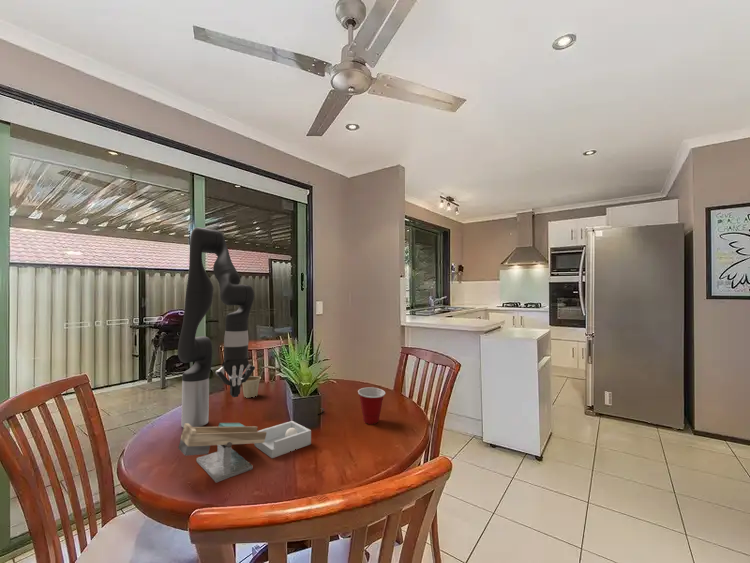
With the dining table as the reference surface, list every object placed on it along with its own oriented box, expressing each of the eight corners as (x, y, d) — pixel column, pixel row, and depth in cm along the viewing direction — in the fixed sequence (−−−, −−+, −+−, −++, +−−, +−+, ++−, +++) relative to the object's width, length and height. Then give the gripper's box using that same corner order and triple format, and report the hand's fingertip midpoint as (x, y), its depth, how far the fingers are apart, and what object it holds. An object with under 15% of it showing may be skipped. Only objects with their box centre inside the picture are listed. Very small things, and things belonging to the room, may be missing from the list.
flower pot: (236, 398, 162) (236, 380, 162) (246, 393, 171) (247, 375, 172) (254, 399, 160) (254, 381, 161) (264, 393, 170) (264, 376, 170)
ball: (294, 425, 117) (292, 438, 117) (284, 426, 115) (282, 439, 114) (300, 429, 114) (298, 441, 114) (290, 430, 112) (288, 442, 111)
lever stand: (196, 461, 101) (196, 440, 101) (230, 450, 108) (230, 431, 108) (216, 482, 89) (216, 459, 90) (252, 469, 96) (252, 447, 97)
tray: (254, 445, 111) (254, 431, 111) (292, 433, 121) (292, 420, 121) (271, 458, 103) (272, 443, 103) (311, 444, 112) (311, 430, 113)
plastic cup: (370, 429, 124) (370, 396, 125) (352, 421, 132) (352, 390, 133) (391, 422, 131) (391, 391, 132) (373, 415, 140) (373, 385, 140)
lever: (166, 434, 102) (173, 412, 103) (236, 433, 117) (241, 413, 118) (185, 456, 88) (193, 431, 89) (263, 451, 103) (268, 429, 104)
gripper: (250, 341, 120) (249, 390, 119) (211, 344, 111) (209, 398, 110) (260, 343, 115) (258, 395, 114) (219, 347, 105) (218, 403, 105)
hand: (234, 396), depth 112 cm, fingers closed
